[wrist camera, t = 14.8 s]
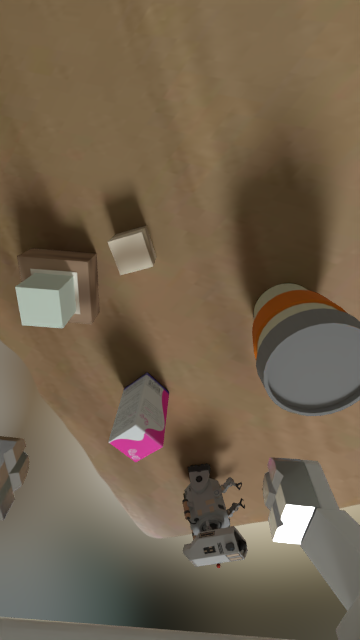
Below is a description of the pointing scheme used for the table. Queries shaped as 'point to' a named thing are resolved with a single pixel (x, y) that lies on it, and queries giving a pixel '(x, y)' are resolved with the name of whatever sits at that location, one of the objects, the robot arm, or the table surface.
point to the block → (132, 250)
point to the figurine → (211, 520)
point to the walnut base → (69, 265)
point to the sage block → (46, 300)
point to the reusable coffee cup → (306, 351)
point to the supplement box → (140, 418)
